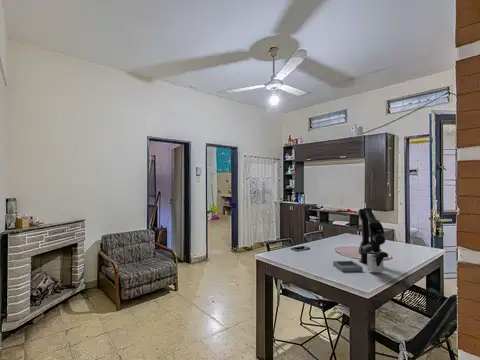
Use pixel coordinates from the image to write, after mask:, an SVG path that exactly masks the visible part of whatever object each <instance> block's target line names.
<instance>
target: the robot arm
mask: <svg viewBox="0 0 480 360" xmlns="http://www.w3.org/2000/svg"><path fill="white" fill-rule="evenodd" d="M357 215H358V218H359V219H360V220H361V234H362V237H361V238H362V240H361V242H360V243H359V244H360V245H359V247H358V254H359V255H360V260H359V262H360V263H362V264H367V254H376V256H374V257H375V258H376V263H377V266H379V265H380V263H381V262H382V260H383V261H384V258H386V259H387V258H389V253H388V252H386V251H382V249H381V246H382V245H384V244H385V243H386V239H385V236H384V235H383V234H384V232H385V230H384V226H383V225H382V223H381V221H380V220H378V219H377V218H376V217H375V214H374V212H373V209H372V207H364V208H360V209H359V210H358V211H357Z"/></svg>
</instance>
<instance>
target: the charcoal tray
mask: <svg viewBox="0 0 480 360" xmlns="http://www.w3.org/2000/svg"><path fill="white" fill-rule="evenodd" d="M332 265H333V267H335V268H336V269H337V270H339V271H340V272H342V273H352V272H353V273H355V272H356V273H357V272H361V273H362V272H363V266H362V265H360V264H358V263H356V262H355V261H353V260H337V261H336V260H334V261H333V262H332Z"/></svg>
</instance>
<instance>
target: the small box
mask: <svg viewBox="0 0 480 360" xmlns="http://www.w3.org/2000/svg"><path fill="white" fill-rule="evenodd" d="M374 256H376V254H367V265H366V267H367V268H366V269H367V270H368V271H369V272H371V273H384V259H383V260H382V262H381V263H380V265H379V266H377V263H376V258H375V257H374Z"/></svg>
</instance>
